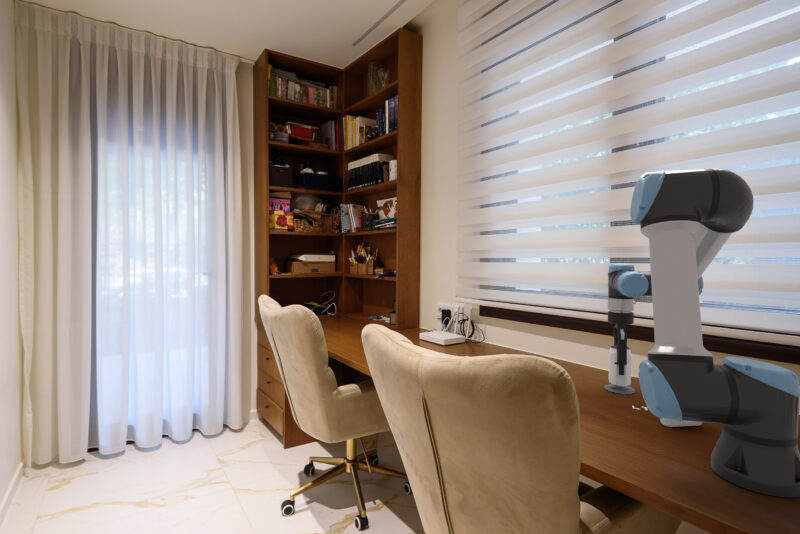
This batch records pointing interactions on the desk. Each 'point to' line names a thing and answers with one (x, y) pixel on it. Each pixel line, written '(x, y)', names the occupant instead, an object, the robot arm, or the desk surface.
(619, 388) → the felt coaster
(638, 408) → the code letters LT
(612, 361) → the can
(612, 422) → the desk surface
